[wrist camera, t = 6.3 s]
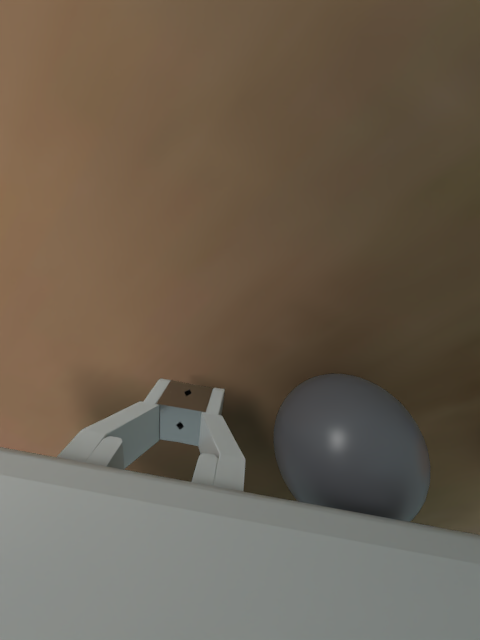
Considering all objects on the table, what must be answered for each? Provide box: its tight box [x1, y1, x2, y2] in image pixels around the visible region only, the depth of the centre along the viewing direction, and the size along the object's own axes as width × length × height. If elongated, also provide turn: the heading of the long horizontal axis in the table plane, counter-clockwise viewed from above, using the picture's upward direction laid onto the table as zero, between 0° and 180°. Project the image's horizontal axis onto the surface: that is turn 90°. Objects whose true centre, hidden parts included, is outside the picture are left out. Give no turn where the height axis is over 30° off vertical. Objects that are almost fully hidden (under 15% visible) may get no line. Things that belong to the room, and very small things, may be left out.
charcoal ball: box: [274, 374, 430, 522], centre depth 9 cm, size 6×6×6 cm
